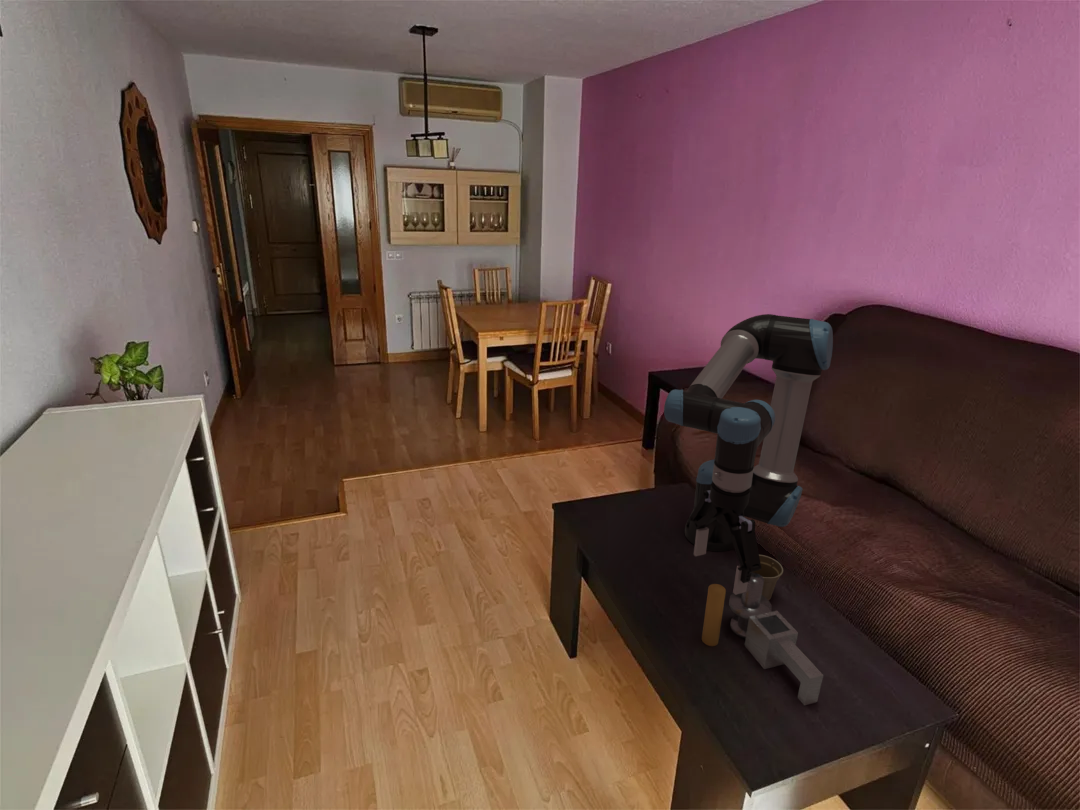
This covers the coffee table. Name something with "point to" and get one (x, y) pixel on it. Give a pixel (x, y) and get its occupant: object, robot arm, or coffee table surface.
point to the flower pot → (769, 574)
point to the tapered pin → (713, 614)
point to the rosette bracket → (772, 638)
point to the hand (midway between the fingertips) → (718, 572)
